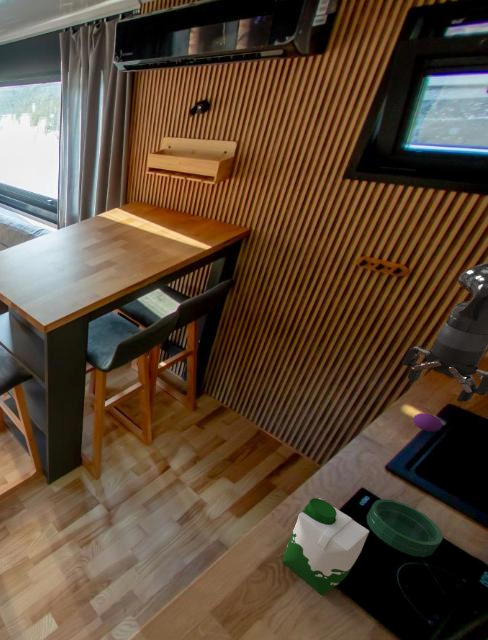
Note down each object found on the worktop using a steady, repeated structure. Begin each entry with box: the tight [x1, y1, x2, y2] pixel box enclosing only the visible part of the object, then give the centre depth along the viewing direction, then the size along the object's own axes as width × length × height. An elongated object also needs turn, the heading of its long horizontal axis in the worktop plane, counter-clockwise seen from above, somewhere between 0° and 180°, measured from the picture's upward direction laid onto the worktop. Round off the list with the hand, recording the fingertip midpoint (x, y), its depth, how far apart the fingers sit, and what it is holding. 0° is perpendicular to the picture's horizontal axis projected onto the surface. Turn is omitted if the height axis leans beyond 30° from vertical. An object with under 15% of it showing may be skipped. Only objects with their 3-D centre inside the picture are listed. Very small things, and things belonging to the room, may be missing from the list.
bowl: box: [366, 498, 444, 558], centre depth 82 cm, size 10×10×6 cm
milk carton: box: [282, 497, 370, 596], centre depth 76 cm, size 9×9×20 cm
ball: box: [412, 412, 443, 433], centre depth 104 cm, size 5×5×5 cm
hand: (435, 390), depth 96 cm, fingers open, 8 cm apart
